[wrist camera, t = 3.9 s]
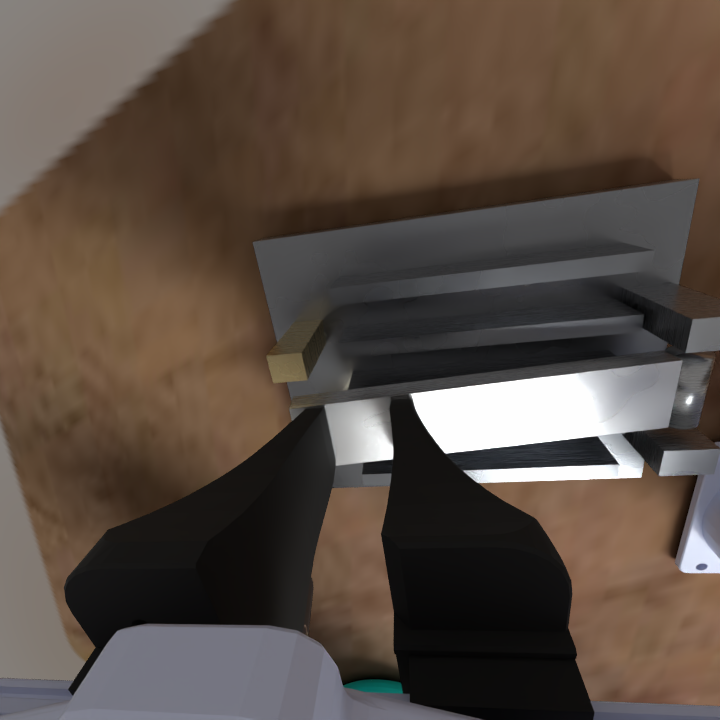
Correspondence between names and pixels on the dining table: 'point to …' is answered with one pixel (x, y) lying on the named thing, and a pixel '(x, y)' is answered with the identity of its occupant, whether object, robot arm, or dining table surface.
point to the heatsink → (497, 313)
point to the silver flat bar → (523, 404)
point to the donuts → (376, 686)
